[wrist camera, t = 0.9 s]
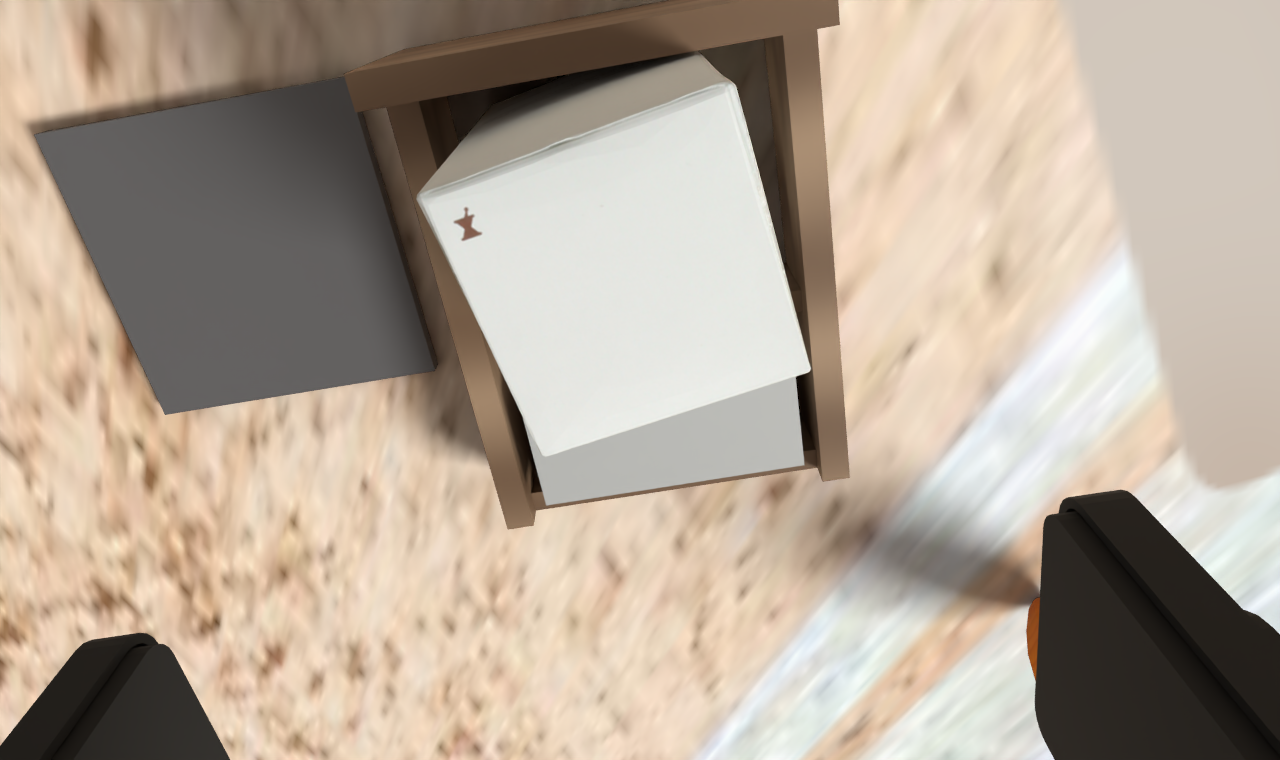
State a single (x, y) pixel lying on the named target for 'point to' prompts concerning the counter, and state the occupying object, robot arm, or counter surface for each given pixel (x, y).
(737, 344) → the supplement box
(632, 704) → the counter surface
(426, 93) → the walnut rack
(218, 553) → the counter surface
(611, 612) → the counter surface
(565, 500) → the upper offcut
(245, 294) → the rubber mat
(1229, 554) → the counter surface
